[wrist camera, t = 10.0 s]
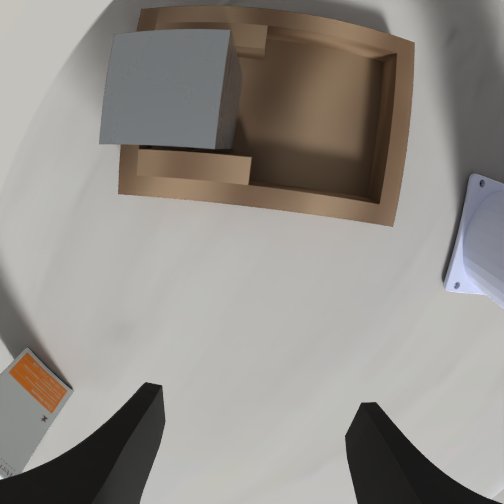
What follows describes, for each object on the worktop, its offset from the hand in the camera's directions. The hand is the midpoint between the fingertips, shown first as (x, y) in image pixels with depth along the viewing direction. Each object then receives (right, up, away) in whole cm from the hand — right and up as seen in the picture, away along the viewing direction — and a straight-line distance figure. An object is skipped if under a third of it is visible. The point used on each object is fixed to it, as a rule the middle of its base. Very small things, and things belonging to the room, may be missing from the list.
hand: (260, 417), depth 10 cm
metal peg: (-3, +13, +5) cm, 15 cm away
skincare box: (-20, -6, +13) cm, 24 cm away
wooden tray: (+1, +13, +5) cm, 15 cm away
